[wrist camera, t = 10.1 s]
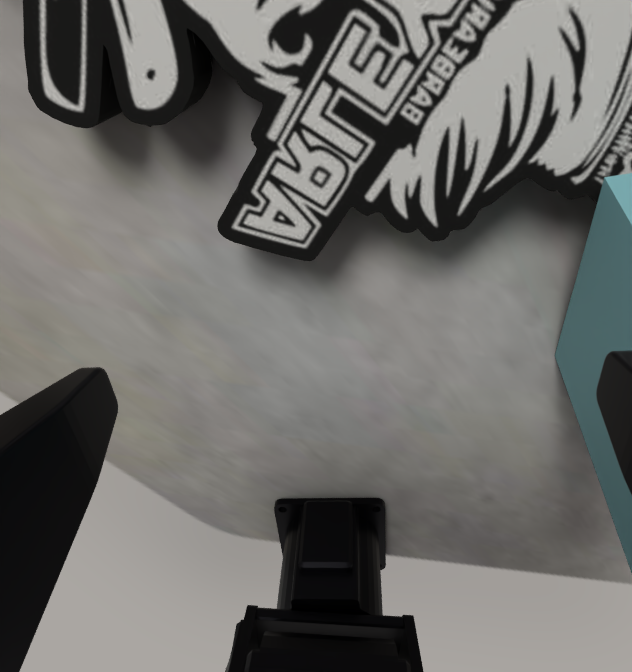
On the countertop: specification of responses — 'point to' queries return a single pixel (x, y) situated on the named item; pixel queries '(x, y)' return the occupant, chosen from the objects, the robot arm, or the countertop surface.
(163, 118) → the sign
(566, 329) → the block
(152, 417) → the countertop surface
